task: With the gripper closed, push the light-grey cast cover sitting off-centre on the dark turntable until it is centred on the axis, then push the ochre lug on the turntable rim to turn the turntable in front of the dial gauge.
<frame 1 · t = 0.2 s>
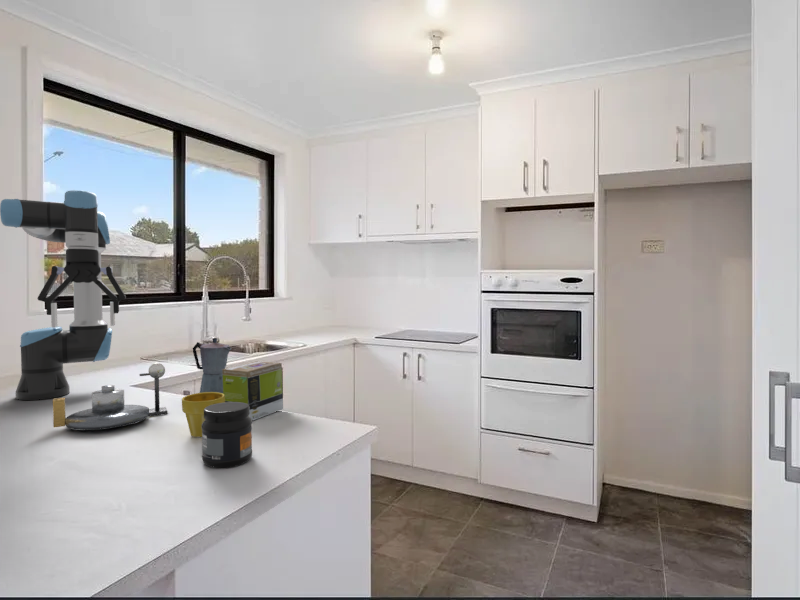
hand: (84, 326, 134), 27 cm above the counter, tool pointing down, fingers open, 13 cm apart
dial gauge: (157, 413, 147), on the counter
tea box: (254, 415, 146), on the counter
supplement container: (227, 461, 108), on the counter
plant pot: (204, 434, 127), on the counter
cover: (108, 408, 141), point 3 cm above the counter, touching turntable
moka pot: (212, 395, 170), on the counter
turntable: (103, 407, 135), point 5 cm above the counter, hinge at 0.0°, touching cover
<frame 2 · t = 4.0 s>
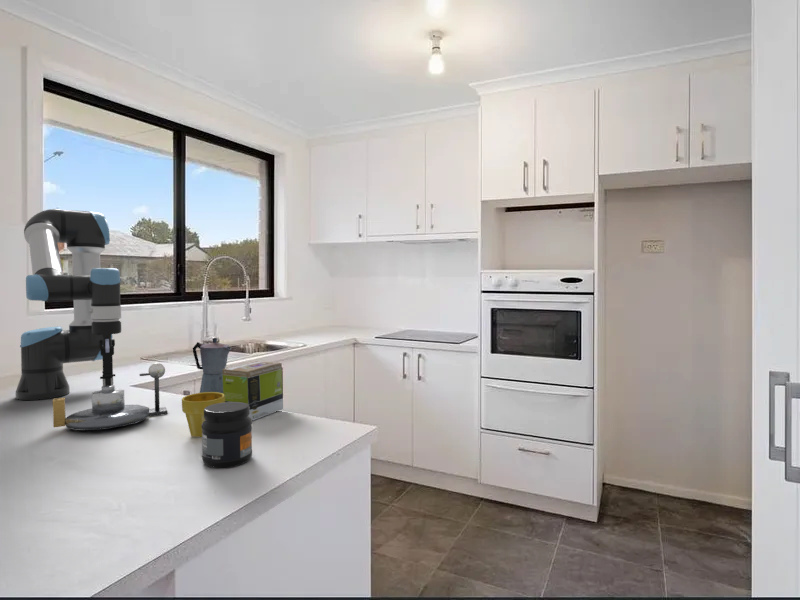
hand: (108, 399, 145), 4 cm above the counter, tool pointing down, fingers closed
cover: (108, 409, 141), point 3 cm above the counter, touching gripper, turntable
everything else where it was.
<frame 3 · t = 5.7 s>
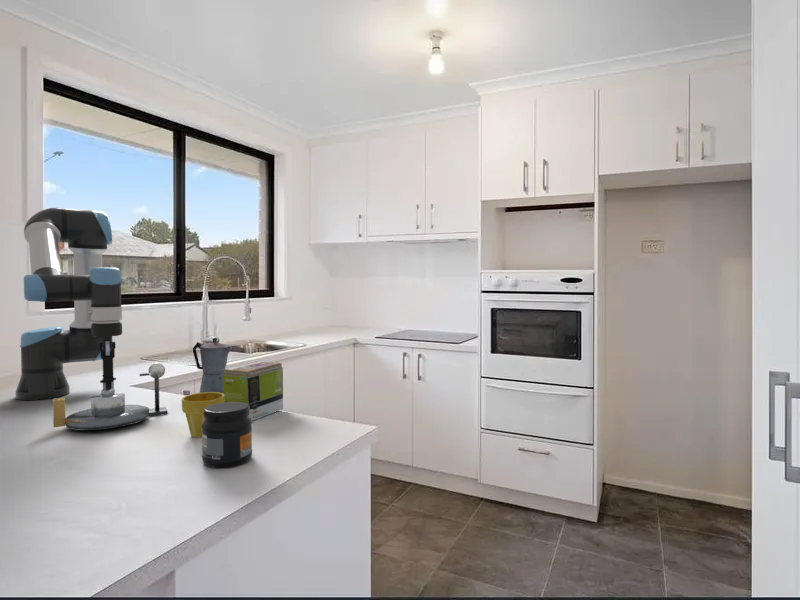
hand: (108, 404, 140), 4 cm above the counter, tool pointing down, fingers closed
cover: (108, 413, 136), point 3 cm above the counter, touching gripper, turntable
everything else where it was.
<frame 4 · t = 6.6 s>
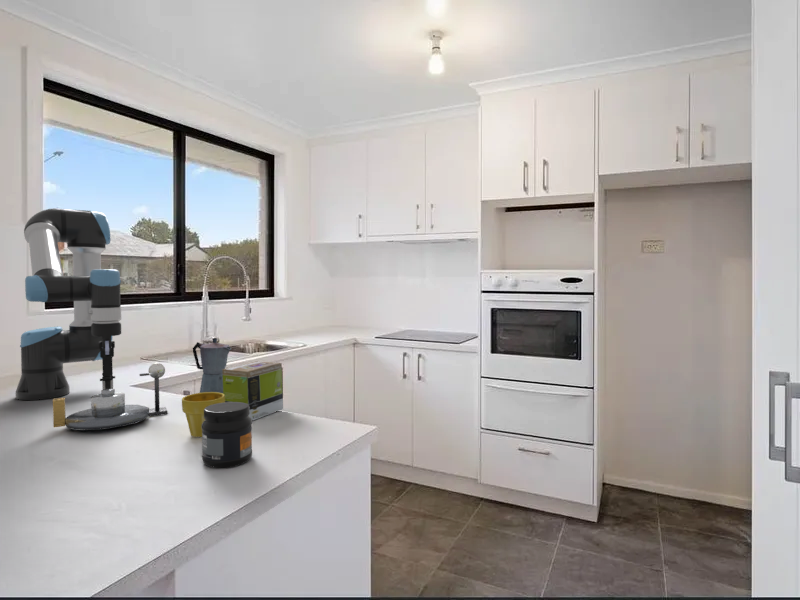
hand: (108, 401, 144), 4 cm above the counter, tool pointing down, fingers closed
cover: (108, 413, 136), point 3 cm above the counter, touching turntable
everything else where it was.
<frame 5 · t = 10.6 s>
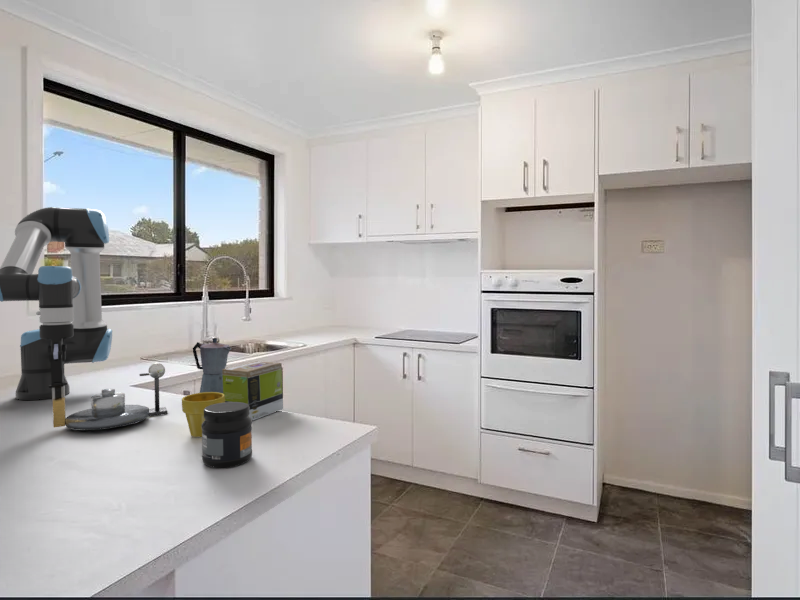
hand: (58, 410, 132), 5 cm above the counter, tool pointing down, fingers closed
turntable: (103, 407, 135), point 5 cm above the counter, hinge at 0.1°, touching cover, gripper
everything else where it was.
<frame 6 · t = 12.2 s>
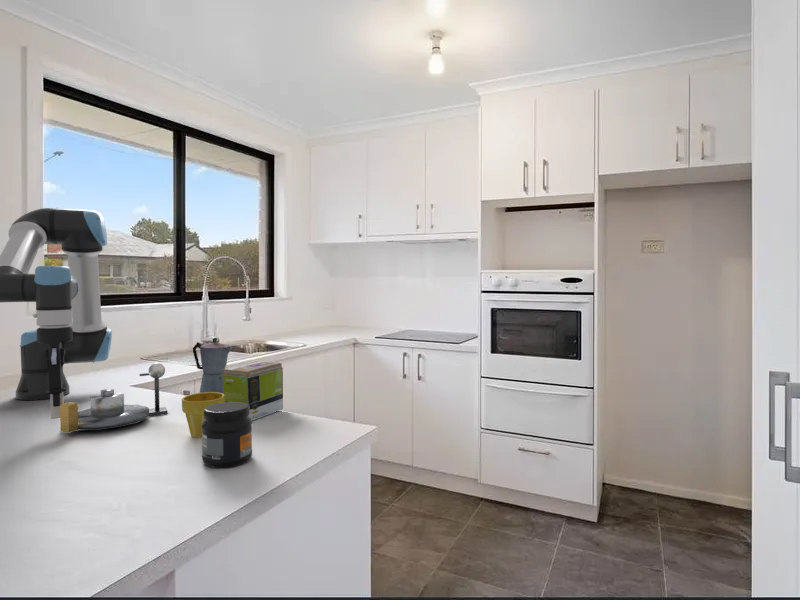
hand: (57, 417, 126), 4 cm above the counter, tool pointing down, fingers closed
turntable: (104, 407, 135), point 5 cm above the counter, hinge at 38.9°, touching cover, gripper
everything else where it was.
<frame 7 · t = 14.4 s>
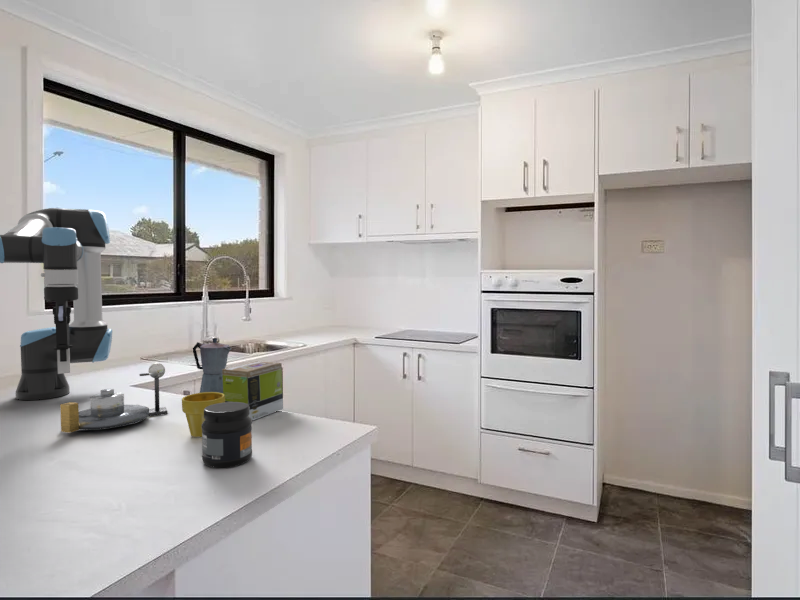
hand: (64, 372, 133), 15 cm above the counter, tool pointing down, fingers closed
turntable: (104, 407, 134), point 5 cm above the counter, hinge at 40.0°, touching cover
everything else where it was.
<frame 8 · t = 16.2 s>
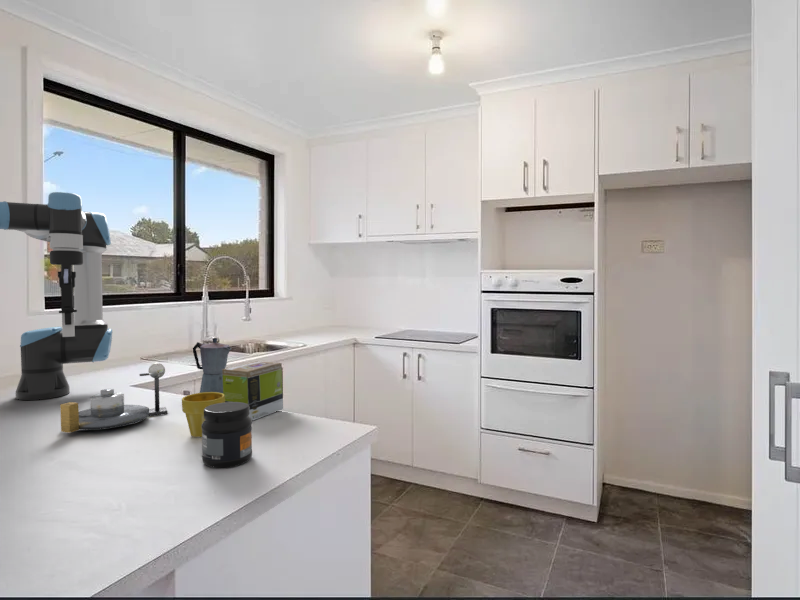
hand: (68, 336, 134), 24 cm above the counter, tool pointing down, fingers closed
nothing on the counter moved.
at the end: cover 0.3 cm from the turntable (horizontally); turntable at +40° (first picture: +0°); cover point 2.8 cm above the counter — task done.
